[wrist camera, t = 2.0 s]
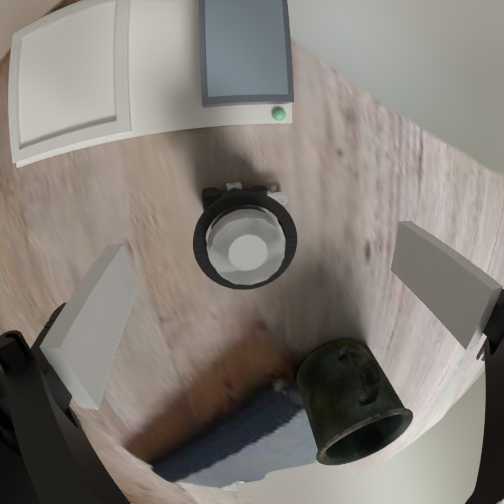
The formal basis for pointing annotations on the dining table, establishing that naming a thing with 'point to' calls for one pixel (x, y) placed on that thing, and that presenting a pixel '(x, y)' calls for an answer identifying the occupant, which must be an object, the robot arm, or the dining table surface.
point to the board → (112, 78)
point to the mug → (349, 402)
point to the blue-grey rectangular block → (245, 52)
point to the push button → (244, 236)
